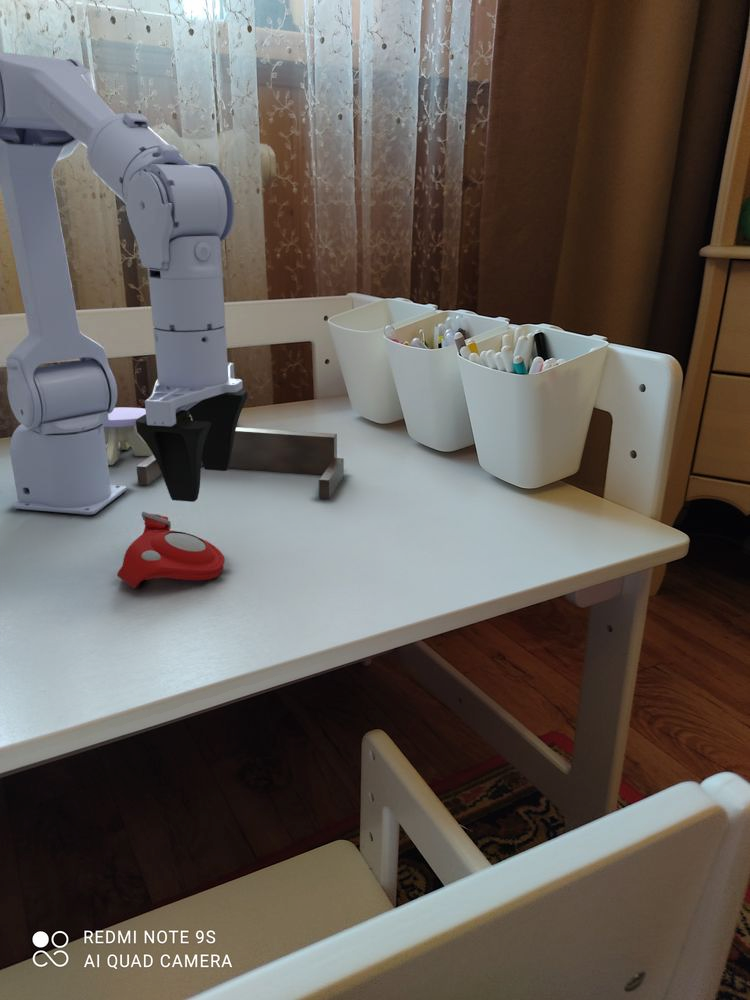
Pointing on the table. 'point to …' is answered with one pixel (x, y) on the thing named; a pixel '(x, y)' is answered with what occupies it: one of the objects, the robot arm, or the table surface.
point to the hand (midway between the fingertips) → (201, 483)
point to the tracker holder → (169, 554)
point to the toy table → (124, 433)
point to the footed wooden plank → (276, 456)
